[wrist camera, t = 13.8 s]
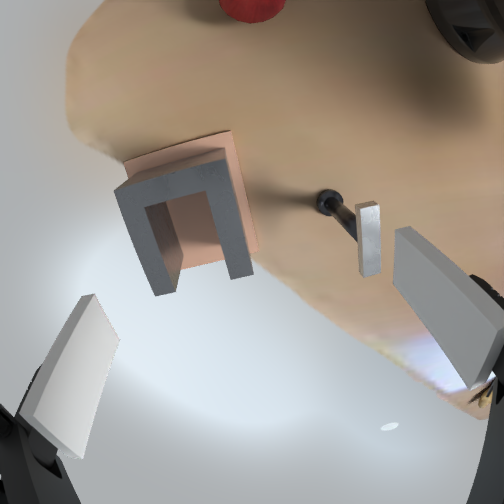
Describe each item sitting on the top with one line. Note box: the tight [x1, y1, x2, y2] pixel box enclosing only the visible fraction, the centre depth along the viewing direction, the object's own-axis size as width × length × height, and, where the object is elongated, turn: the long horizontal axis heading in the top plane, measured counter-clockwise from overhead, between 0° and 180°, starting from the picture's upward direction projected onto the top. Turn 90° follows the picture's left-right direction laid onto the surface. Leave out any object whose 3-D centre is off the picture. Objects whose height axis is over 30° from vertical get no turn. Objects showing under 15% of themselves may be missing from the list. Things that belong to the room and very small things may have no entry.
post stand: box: [317, 190, 381, 278], centre depth 27 cm, size 6×3×10 cm, turn 12°
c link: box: [114, 148, 253, 296], centre depth 27 cm, size 10×9×7 cm
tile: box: [123, 131, 259, 270], centre depth 30 cm, size 13×11×1 cm
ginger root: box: [478, 387, 493, 408], centre depth 57 cm, size 16×16×8 cm
